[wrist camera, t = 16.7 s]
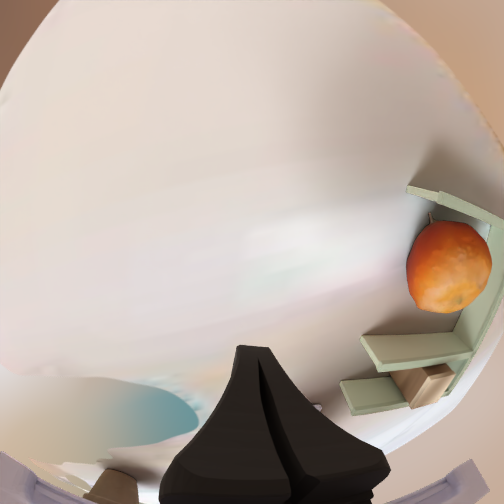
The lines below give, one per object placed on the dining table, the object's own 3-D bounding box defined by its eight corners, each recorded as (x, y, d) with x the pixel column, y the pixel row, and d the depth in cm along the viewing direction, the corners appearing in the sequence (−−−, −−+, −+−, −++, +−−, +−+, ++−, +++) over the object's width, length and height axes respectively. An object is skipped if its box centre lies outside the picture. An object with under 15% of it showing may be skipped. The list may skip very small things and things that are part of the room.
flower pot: (102, 478, 34) (93, 514, 24) (83, 455, 30) (70, 497, 21) (153, 491, 35) (149, 529, 25) (142, 471, 31) (134, 518, 22)
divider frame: (432, 373, 27) (448, 395, 23) (338, 385, 25) (352, 416, 21) (495, 219, 20) (523, 230, 16) (407, 183, 19) (443, 191, 14)
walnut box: (427, 341, 25) (456, 373, 19) (413, 369, 26) (437, 401, 20) (402, 344, 24) (431, 380, 19) (388, 372, 26) (411, 409, 20)
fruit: (480, 218, 19) (513, 286, 13) (429, 265, 24) (448, 332, 19) (433, 178, 17) (475, 253, 12) (377, 239, 23) (394, 317, 18)
